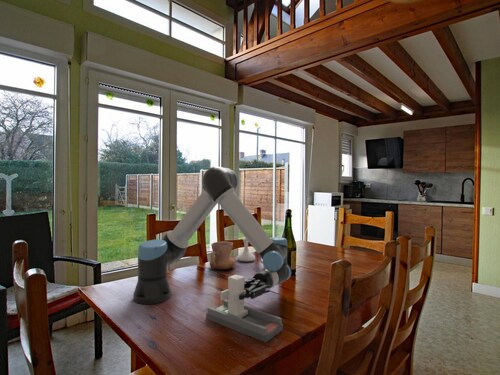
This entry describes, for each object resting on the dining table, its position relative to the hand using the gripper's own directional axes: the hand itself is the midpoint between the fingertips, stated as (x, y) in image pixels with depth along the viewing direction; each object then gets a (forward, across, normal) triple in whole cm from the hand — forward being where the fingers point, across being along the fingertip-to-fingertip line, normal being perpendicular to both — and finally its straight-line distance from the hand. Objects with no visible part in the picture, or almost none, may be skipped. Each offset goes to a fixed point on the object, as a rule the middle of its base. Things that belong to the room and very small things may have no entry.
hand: (226, 297), depth 100 cm
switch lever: (-5, 0, -7) cm, 9 cm away
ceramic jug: (-49, +48, -10) cm, 69 cm away
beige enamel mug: (-66, +26, -10) cm, 72 cm away
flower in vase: (-71, +46, -10) cm, 86 cm away
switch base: (-5, -3, -10) cm, 12 cm away
